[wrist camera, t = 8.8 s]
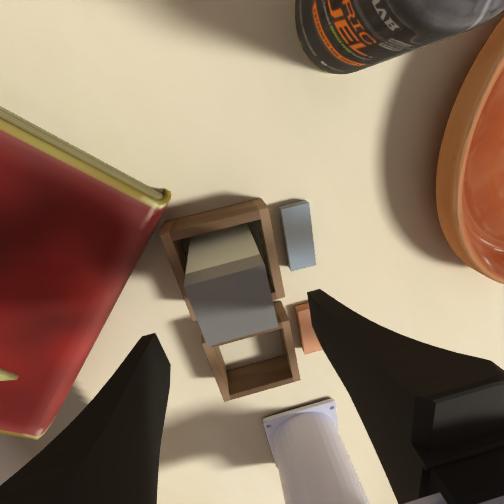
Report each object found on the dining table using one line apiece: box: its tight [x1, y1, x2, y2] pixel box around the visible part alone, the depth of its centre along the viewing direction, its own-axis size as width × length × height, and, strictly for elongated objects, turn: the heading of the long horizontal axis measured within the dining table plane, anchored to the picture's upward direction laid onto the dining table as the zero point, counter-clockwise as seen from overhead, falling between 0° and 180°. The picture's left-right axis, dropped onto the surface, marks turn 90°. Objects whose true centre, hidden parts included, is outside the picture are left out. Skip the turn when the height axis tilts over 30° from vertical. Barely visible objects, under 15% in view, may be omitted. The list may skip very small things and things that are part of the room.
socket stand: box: [159, 198, 323, 402], centre depth 21 cm, size 16×10×2 cm, turn 12°
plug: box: [184, 223, 278, 347], centre depth 17 cm, size 4×4×7 cm
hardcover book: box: [0, 106, 171, 440], centre depth 17 cm, size 12×21×4 cm, turn 148°
